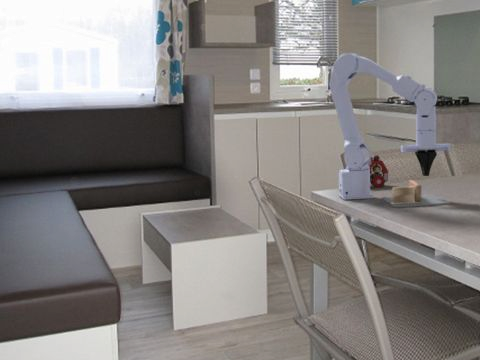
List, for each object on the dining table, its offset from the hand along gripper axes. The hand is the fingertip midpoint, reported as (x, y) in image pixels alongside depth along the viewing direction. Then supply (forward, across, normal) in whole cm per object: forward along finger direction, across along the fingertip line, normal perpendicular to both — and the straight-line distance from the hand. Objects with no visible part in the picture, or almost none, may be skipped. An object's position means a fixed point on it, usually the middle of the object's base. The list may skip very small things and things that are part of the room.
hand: (425, 175), depth 211 cm
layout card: (+7, +4, +3) cm, 9 cm away
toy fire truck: (+8, +10, -27) cm, 30 cm away
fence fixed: (+7, +7, +6) cm, 12 cm away
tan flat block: (+6, +4, +1) cm, 7 cm away
